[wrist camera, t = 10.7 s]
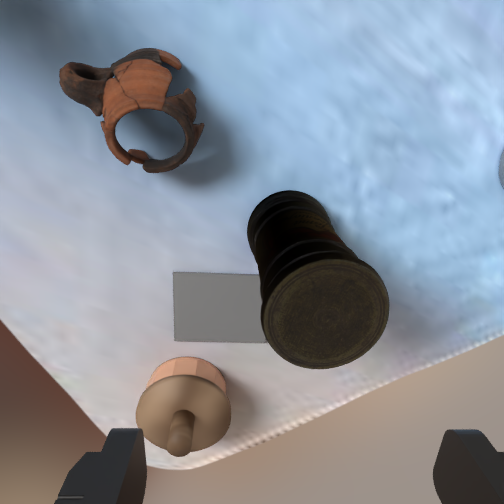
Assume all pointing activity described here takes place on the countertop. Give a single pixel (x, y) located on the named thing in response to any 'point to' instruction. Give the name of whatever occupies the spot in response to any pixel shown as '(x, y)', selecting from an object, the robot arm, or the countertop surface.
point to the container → (313, 285)
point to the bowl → (188, 370)
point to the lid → (183, 414)
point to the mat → (217, 307)
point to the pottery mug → (134, 100)
